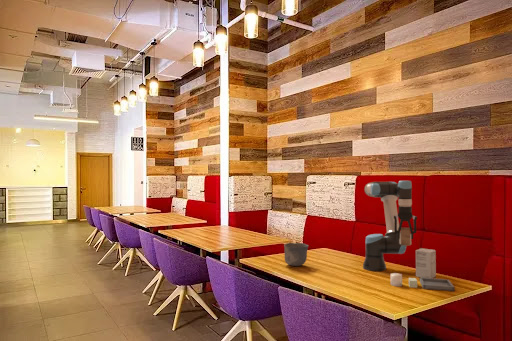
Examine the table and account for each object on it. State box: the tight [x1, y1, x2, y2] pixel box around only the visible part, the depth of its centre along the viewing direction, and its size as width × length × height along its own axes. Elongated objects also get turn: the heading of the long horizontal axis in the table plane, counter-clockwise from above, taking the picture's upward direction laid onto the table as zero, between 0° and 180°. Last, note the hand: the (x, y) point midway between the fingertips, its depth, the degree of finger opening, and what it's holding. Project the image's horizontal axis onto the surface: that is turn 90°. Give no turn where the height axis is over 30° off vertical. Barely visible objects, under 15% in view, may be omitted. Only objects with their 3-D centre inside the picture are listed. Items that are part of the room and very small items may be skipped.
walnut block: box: [400, 227, 411, 247], centre depth 227 cm, size 5×5×10 cm
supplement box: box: [415, 247, 437, 278], centre depth 236 cm, size 10×9×17 cm
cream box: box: [408, 277, 418, 289], centre depth 216 cm, size 6×4×4 cm, turn 163°
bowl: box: [283, 242, 309, 267], centre depth 265 cm, size 18×18×15 cm
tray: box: [419, 277, 456, 292], centre depth 216 cm, size 16×16×2 cm
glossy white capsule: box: [390, 272, 403, 287], centre depth 219 cm, size 6×6×6 cm
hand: (405, 244), depth 227 cm, fingers closed on walnut block, 5 cm apart
